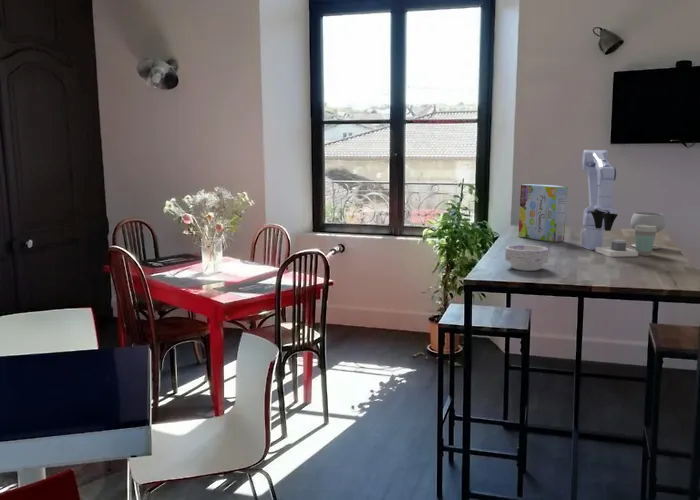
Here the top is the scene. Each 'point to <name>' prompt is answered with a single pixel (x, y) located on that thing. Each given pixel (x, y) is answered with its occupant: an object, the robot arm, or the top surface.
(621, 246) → the plug
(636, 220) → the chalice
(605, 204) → the robot arm
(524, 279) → the top surface
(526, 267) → the white round bowl
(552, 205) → the snack box
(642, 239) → the coffee cup
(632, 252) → the socket plate
